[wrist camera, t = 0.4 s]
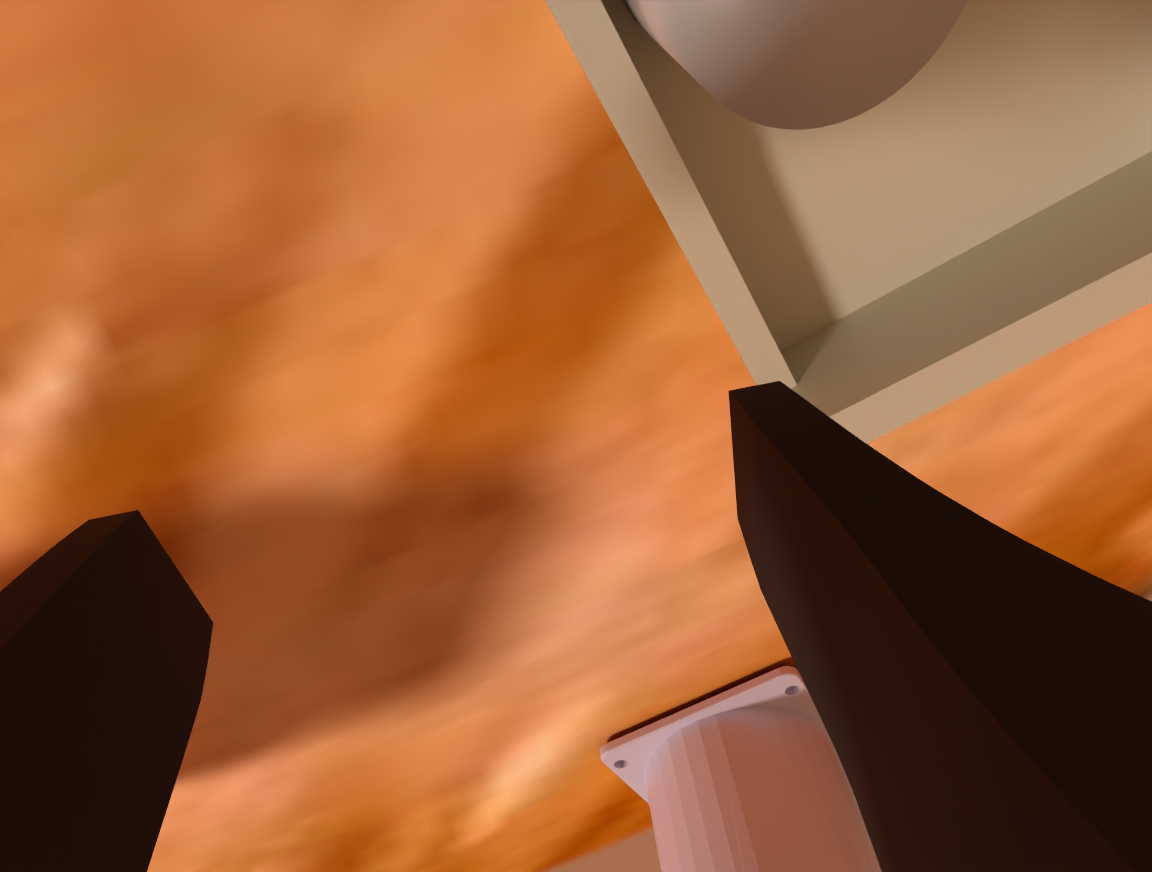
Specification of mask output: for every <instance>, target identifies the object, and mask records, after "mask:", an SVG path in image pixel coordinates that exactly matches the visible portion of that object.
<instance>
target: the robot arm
mask: <svg viewBox="0 0 1152 872" xmlns="http://www.w3.org/2000/svg"><path fill="white" fill-rule="evenodd" d="M729 402H730V416H731V431H732V445H733V459H734V473H735V487H736V501H737V516H738V521H739V524H740V527H741V530H742V533H743V537H744V540H745V543H746V546H747V549H748V552H749V555H750V559H751V562H752V565H753V568H754V571H755V574H756V577H757V579H758V582H759V585H760V588H761V591H762V593H763V595H764V597H765V600H766V602H767V604H768V606H769V608H770V611H771V613H772V615H773V617H774V619H775V621H776V624H777V626H778V628H779V630H780V632H781V634H782V637H783V639H784V641H785V643H786V645H787V647H788V649H789V652H790V654H791V656H792V658H793V660H794V662H795V664H796V667H797V669H798V670H797V669H796V668H794V667H791V666H782V667H779V668H777V669H774V670H772V671H770V672H768V673H765V674H763V675H761V676H758V677H756V678H754V679H752V680H749V681H747V682H745V683H743V684H740V685H738V686H736V687H733V688H731V689H729V690H727V691H724V692H722V693H720V694H718V695H715V696H713V697H711V698H708V699H706V700H704V701H702V702H699V703H697V704H695V705H692V706H690V707H688V708H686V709H683V710H681V711H679V712H677V713H674V714H672V715H670V716H667V717H665V718H663V719H661V720H658V721H656V722H654V723H651V724H649V725H647V726H645V727H642V728H640V729H638V730H636V731H633V732H631V733H629V734H626V735H624V736H622V737H620V738H617V739H615V740H613V741H610V742H608V743H606V744H605V745H603V746H602V747H601V749H600V757H601V760H602V762H603V763H604V764H605V765H606V766H607V767H609V768H610V769H611V770H612V771H613V772H614V773H615V774H616V775H617V776H619V777H620V778H621V779H622V780H623V781H624V782H625V783H626V784H627V785H629V786H630V787H631V788H632V789H633V790H634V791H635V792H636V793H637V794H639V795H640V796H641V797H642V798H643V799H644V800H645V801H646V802H647V803H649V806H650V811H651V817H652V822H653V827H654V833H655V838H656V843H657V849H658V854H659V860H660V865H661V870H662V872H1152V601H1149V600H1147V599H1144V598H1142V597H1140V596H1138V595H1136V594H1133V593H1131V592H1129V591H1127V590H1125V589H1122V588H1120V587H1118V586H1116V585H1114V584H1111V583H1109V582H1107V581H1105V580H1103V579H1101V578H1098V577H1096V576H1094V575H1092V574H1090V573H1088V572H1086V571H1084V570H1082V569H1080V568H1078V567H1076V566H1074V565H1072V564H1070V563H1068V562H1066V561H1064V560H1062V559H1060V558H1058V557H1056V556H1054V555H1052V554H1050V553H1048V552H1046V551H1044V550H1042V549H1040V548H1038V547H1036V546H1034V545H1032V544H1030V543H1028V542H1026V541H1024V540H1022V539H1021V538H1019V537H1017V536H1015V535H1013V534H1011V533H1009V532H1008V531H1006V530H1004V529H1002V528H1000V527H998V526H997V525H995V524H993V523H991V522H990V521H988V520H986V519H984V518H983V517H981V516H979V515H978V514H976V513H974V512H973V511H971V510H969V509H967V508H966V507H964V506H962V505H961V504H959V503H957V502H956V501H954V500H952V499H950V498H949V497H947V496H945V495H944V494H942V493H940V492H939V491H937V490H935V489H934V488H932V487H931V486H929V485H928V484H926V483H924V482H923V481H921V480H920V479H918V478H916V477H915V476H913V475H912V474H910V473H909V472H907V471H906V470H904V469H903V468H901V467H900V466H898V465H897V464H896V463H894V462H893V461H891V460H890V459H888V458H887V457H885V456H884V455H882V454H881V453H879V452H878V451H876V450H875V449H873V448H872V447H870V446H869V445H868V444H866V443H865V442H863V441H862V440H860V439H859V438H858V437H856V436H855V435H854V434H852V433H851V432H849V431H848V430H847V429H845V428H844V427H842V426H841V425H840V424H838V423H837V422H836V421H834V420H833V419H831V418H830V417H829V416H827V415H826V414H825V413H823V412H822V411H821V410H819V409H818V408H817V407H815V406H814V405H812V404H811V403H810V402H808V401H807V400H806V399H804V398H803V397H802V396H800V395H799V394H797V393H796V392H795V391H793V390H792V389H791V388H789V387H788V386H786V385H785V384H784V383H782V382H781V381H776V382H771V383H766V384H761V385H756V386H751V387H746V388H741V389H736V390H731V391H729ZM212 627H213V622H212V620H211V619H210V617H209V616H208V614H207V613H206V611H205V610H204V608H203V607H202V605H201V604H200V602H199V601H198V599H197V598H196V596H195V595H194V593H193V592H192V590H191V589H190V587H189V586H188V584H187V583H186V581H185V580H184V578H183V577H182V575H181V574H180V572H179V571H178V569H177V568H176V566H175V565H174V563H173V562H172V560H171V559H170V557H169V556H168V554H167V553H166V551H165V550H164V548H163V547H162V545H161V544H160V542H159V541H158V539H157V538H156V536H155V535H154V533H153V532H152V530H151V529H150V527H149V526H148V524H147V523H146V521H145V520H144V518H143V517H142V515H141V514H140V512H139V511H138V510H136V511H131V512H126V513H121V514H116V515H111V516H106V517H101V518H96V519H91V520H88V521H87V522H86V523H84V524H83V525H81V526H80V527H79V528H77V529H76V530H74V531H73V532H72V533H70V534H69V535H68V536H66V537H65V538H64V539H62V540H61V541H60V542H59V543H57V544H56V545H55V546H54V547H53V548H51V549H50V550H49V551H48V552H46V553H45V554H44V555H43V556H42V557H40V558H39V559H38V560H37V561H36V562H34V563H33V564H32V565H31V566H30V567H28V568H27V569H26V570H25V571H24V572H23V573H21V574H20V575H19V576H18V577H17V578H16V579H14V580H13V581H12V582H11V583H10V584H9V585H8V586H6V587H5V588H4V589H3V590H2V591H1V592H0V872H147V869H148V866H149V863H150V860H151V857H152V854H153V851H154V848H155V844H156V841H157V838H158V835H159V832H160V829H161V826H162V823H163V819H164V816H165V813H166V810H167V807H168V804H169V801H170V798H171V795H172V791H173V788H174V785H175V782H176V779H177V776H178V773H179V770H180V766H181V763H182V760H183V757H184V754H185V750H186V747H187V744H188V741H189V737H190V734H191V731H192V728H193V724H194V721H195V718H196V714H197V711H198V708H199V704H200V701H201V696H202V691H203V685H204V680H205V674H206V669H207V663H208V656H209V649H210V642H211V634H212ZM798 671H799V672H798ZM854 796H855V798H856V801H857V803H856V801H855V798H854ZM857 804H858V806H857ZM858 807H859V808H858ZM859 810H860V811H859ZM860 812H861V813H860ZM861 815H862V816H861Z"/></svg>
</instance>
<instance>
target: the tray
mask: <svg viewBox="0 0 1152 872" xmlns="http://www.w3.org/2000/svg"><path fill="white" fill-rule="evenodd" d="M545 1H546V3H547V5H548V7H549V8H550V10H551V12H552V14H553V16H554V17H555V19H556V21H557V23H558V25H559V27H560V28H561V30H562V32H563V34H564V36H565V37H566V39H567V41H568V43H569V45H570V47H571V48H572V50H573V52H574V54H575V56H576V57H577V59H578V61H579V63H580V65H581V67H582V68H583V70H584V72H585V74H586V76H587V78H588V79H589V81H590V83H591V85H592V87H593V88H594V90H595V92H596V94H597V96H598V98H599V99H600V101H601V103H602V105H603V107H604V108H605V110H606V112H607V114H608V116H609V118H610V119H611V121H612V123H613V125H614V127H615V128H616V130H617V132H618V134H619V136H620V138H621V139H622V141H623V143H624V145H625V147H626V148H627V150H628V152H629V154H630V156H631V158H632V159H633V161H634V163H635V165H636V167H637V168H638V170H639V172H640V174H641V176H642V178H643V179H644V181H645V183H646V185H647V187H648V188H649V190H650V192H651V194H652V196H653V198H654V199H655V201H656V203H657V205H658V207H659V208H660V210H661V212H662V214H663V216H664V218H665V219H666V221H667V223H668V225H669V227H670V228H671V230H672V232H673V234H674V236H675V238H676V239H677V241H678V243H679V245H680V247H681V249H682V250H683V252H684V254H685V256H686V258H687V259H688V261H689V263H690V265H691V267H692V269H693V270H694V272H695V274H696V276H697V278H698V279H699V281H700V283H701V285H702V287H703V289H704V290H705V292H706V294H707V296H708V298H709V299H710V301H711V303H712V305H713V307H714V309H715V310H716V312H717V314H718V316H719V318H720V319H721V321H722V323H723V325H724V327H725V329H726V330H727V332H728V334H729V336H730V338H731V339H732V341H733V343H734V345H735V347H736V349H737V350H738V352H739V354H740V356H741V358H742V359H743V361H744V363H745V365H746V367H747V369H748V370H749V372H750V374H751V376H752V378H753V379H754V381H755V383H756V385H761V384H766V383H771V382H776V381H781V382H782V383H784V384H785V385H786V386H788V387H789V388H791V389H792V390H793V391H795V392H796V393H797V394H799V395H800V396H802V397H803V398H804V399H806V400H807V401H808V402H810V403H811V404H812V405H814V406H815V407H817V408H818V409H819V410H821V411H822V412H823V413H825V414H826V415H827V416H829V417H830V418H831V419H833V420H834V421H836V422H837V423H838V424H840V425H841V426H842V427H844V428H845V429H847V430H848V431H849V432H851V433H852V434H854V435H855V436H856V437H858V438H859V439H860V440H862V441H863V442H865V443H866V444H867V443H869V442H871V441H873V440H875V439H877V438H880V437H882V436H884V435H886V434H888V433H890V432H892V431H894V430H896V429H898V428H900V427H902V426H904V425H906V424H908V423H910V422H912V421H914V420H916V419H918V418H920V417H922V416H924V415H926V414H928V413H930V412H932V411H934V410H936V409H938V408H940V407H942V406H944V405H946V404H948V403H950V402H952V401H954V400H956V399H958V398H960V397H962V396H964V395H966V394H968V393H970V392H972V391H974V390H976V389H978V388H980V387H982V386H984V385H986V384H988V383H990V382H992V381H994V380H996V379H998V378H1000V377H1002V376H1004V375H1006V374H1008V373H1011V372H1013V371H1015V370H1017V369H1019V368H1021V367H1023V366H1025V365H1027V364H1029V363H1031V362H1033V361H1035V360H1037V359H1039V358H1041V357H1043V356H1045V355H1047V354H1049V353H1051V352H1053V351H1055V350H1057V349H1059V348H1061V347H1063V346H1065V345H1067V344H1069V343H1071V342H1073V341H1075V340H1077V339H1079V338H1081V337H1083V336H1085V335H1087V334H1089V333H1091V332H1093V331H1095V330H1097V329H1099V328H1101V327H1103V326H1105V325H1107V324H1109V323H1111V322H1113V321H1115V320H1117V319H1119V318H1121V317H1123V316H1125V315H1127V314H1129V313H1131V312H1133V311H1135V310H1137V309H1139V308H1142V307H1144V306H1146V305H1148V304H1150V303H1152V0H545Z"/></svg>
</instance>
